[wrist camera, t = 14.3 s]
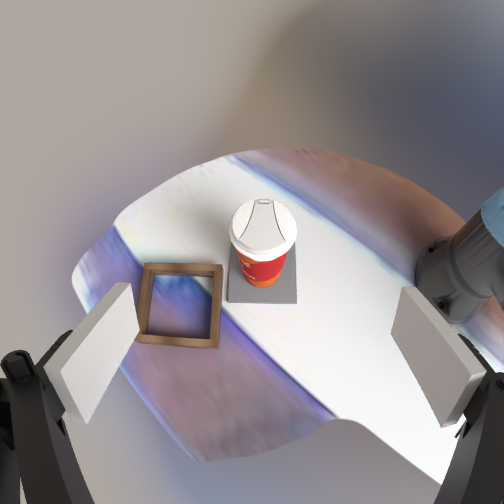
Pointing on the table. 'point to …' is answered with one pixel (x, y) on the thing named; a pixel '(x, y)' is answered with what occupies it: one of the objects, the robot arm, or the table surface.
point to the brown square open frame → (179, 270)
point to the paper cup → (262, 239)
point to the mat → (276, 293)
